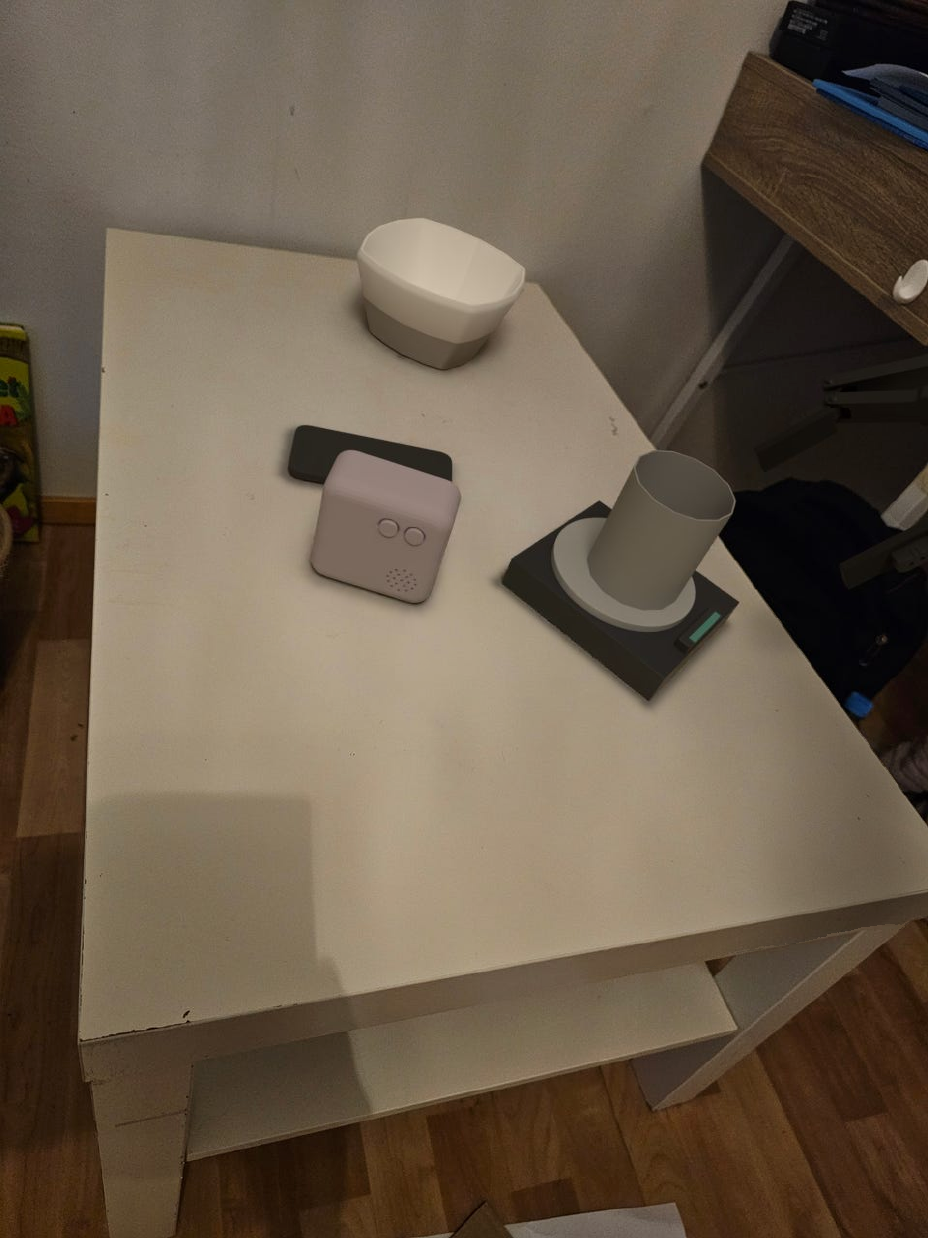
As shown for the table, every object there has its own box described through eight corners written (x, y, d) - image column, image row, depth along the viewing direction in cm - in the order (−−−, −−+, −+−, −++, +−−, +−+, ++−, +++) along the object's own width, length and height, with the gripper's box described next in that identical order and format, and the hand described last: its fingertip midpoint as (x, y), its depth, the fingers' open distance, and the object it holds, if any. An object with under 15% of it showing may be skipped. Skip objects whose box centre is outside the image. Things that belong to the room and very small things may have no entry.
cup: (667, 625, 68) (725, 537, 61) (576, 581, 69) (623, 488, 62) (686, 567, 74) (741, 479, 67) (602, 527, 75) (648, 436, 68)
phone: (297, 421, 78) (452, 453, 81) (296, 429, 79) (450, 459, 82) (286, 470, 73) (452, 501, 76) (285, 477, 74) (450, 508, 77)
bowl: (319, 328, 92) (332, 245, 85) (399, 281, 104) (415, 205, 97) (457, 401, 89) (481, 322, 82) (523, 344, 101) (548, 270, 95)
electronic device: (304, 577, 66) (321, 480, 59) (320, 541, 70) (338, 444, 63) (424, 615, 67) (454, 523, 60) (435, 576, 70) (465, 485, 63)
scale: (723, 623, 76) (745, 593, 73) (648, 701, 67) (670, 670, 64) (587, 522, 81) (603, 491, 78) (501, 582, 72) (515, 549, 69)
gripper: (1200, 511, 55) (891, 658, 61) (970, 314, 71) (739, 445, 76) (1223, 441, 50) (880, 610, 55) (968, 244, 65) (719, 391, 70)
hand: (798, 515), depth 66 cm, fingers open, 13 cm apart
